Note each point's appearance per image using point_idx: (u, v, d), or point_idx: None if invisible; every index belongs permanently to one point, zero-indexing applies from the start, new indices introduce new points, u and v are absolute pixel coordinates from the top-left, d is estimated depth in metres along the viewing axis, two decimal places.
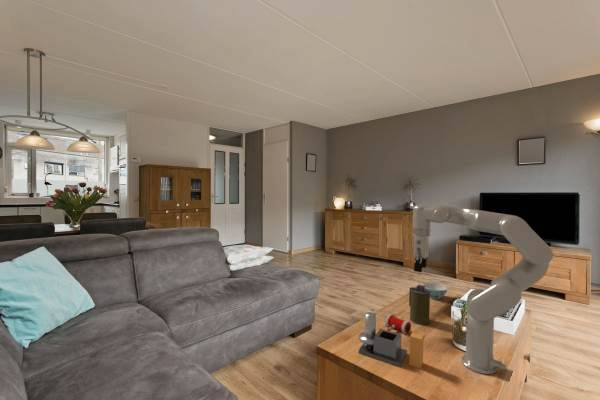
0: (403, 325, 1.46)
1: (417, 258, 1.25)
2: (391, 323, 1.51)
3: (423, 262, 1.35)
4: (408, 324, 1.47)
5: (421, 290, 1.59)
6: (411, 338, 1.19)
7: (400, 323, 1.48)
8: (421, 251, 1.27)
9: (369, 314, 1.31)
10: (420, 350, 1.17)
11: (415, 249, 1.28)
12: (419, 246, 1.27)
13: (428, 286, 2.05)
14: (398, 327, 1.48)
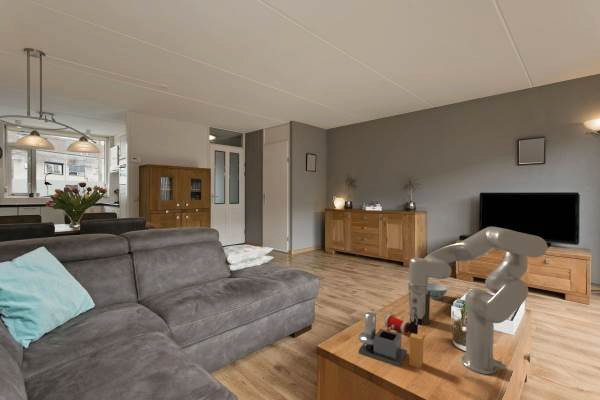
0: (402, 325, 1.45)
1: (413, 319, 1.13)
2: (390, 323, 1.51)
3: (419, 319, 1.23)
4: (407, 324, 1.46)
5: None
6: (411, 338, 1.19)
7: (399, 323, 1.47)
8: (417, 311, 1.15)
9: (369, 314, 1.31)
10: (420, 350, 1.17)
11: (411, 308, 1.16)
12: (415, 305, 1.15)
13: (428, 286, 2.05)
14: (397, 327, 1.48)
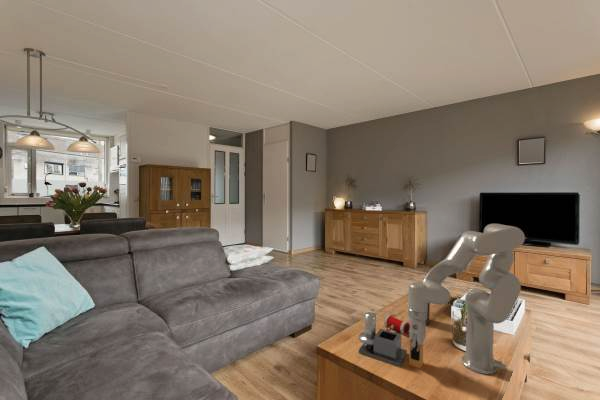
0: (402, 326, 1.45)
1: (414, 348, 1.15)
2: (390, 324, 1.51)
3: None
4: (407, 325, 1.46)
5: None
6: None
7: (398, 323, 1.47)
8: (417, 341, 1.15)
9: (369, 314, 1.31)
10: (420, 350, 1.17)
11: (411, 334, 1.17)
12: (415, 331, 1.16)
13: None
14: (397, 328, 1.47)
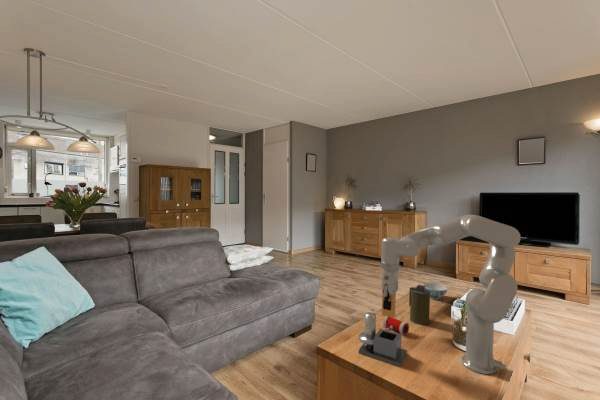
0: (401, 326, 1.44)
1: (385, 297, 1.21)
2: (389, 324, 1.50)
3: None
4: (406, 325, 1.45)
5: (421, 290, 1.59)
6: None
7: (398, 324, 1.47)
8: (389, 290, 1.21)
9: (369, 314, 1.31)
10: (392, 300, 1.23)
11: (383, 285, 1.23)
12: (387, 282, 1.22)
13: (428, 286, 2.05)
14: (396, 328, 1.47)
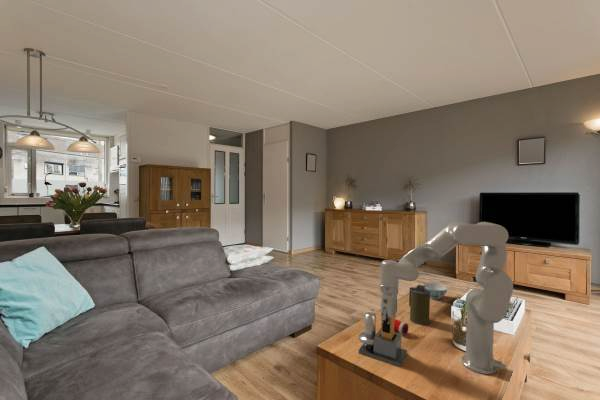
0: (400, 326, 1.44)
1: (384, 321, 1.21)
2: None
3: None
4: (405, 325, 1.45)
5: (421, 290, 1.59)
6: None
7: (397, 324, 1.46)
8: (388, 314, 1.21)
9: (369, 314, 1.31)
10: (390, 323, 1.24)
11: (382, 308, 1.23)
12: (386, 305, 1.22)
13: (428, 286, 2.05)
14: (395, 328, 1.46)
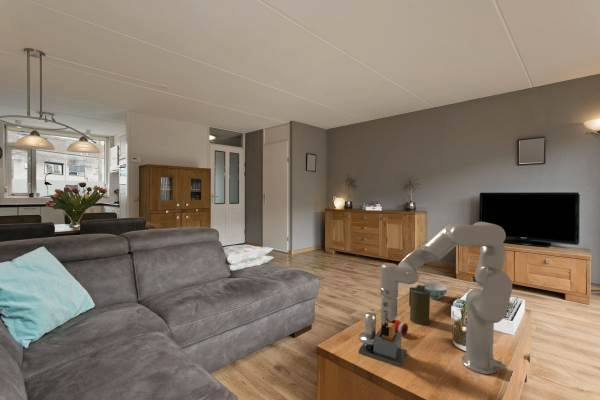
0: (400, 327, 1.44)
1: (383, 323, 1.20)
2: None
3: (392, 322, 1.30)
4: (405, 326, 1.45)
5: (421, 290, 1.59)
6: None
7: (396, 324, 1.46)
8: (388, 315, 1.21)
9: (369, 314, 1.31)
10: (391, 338, 1.24)
11: (382, 311, 1.23)
12: (386, 309, 1.22)
13: (428, 286, 2.05)
14: (395, 329, 1.46)
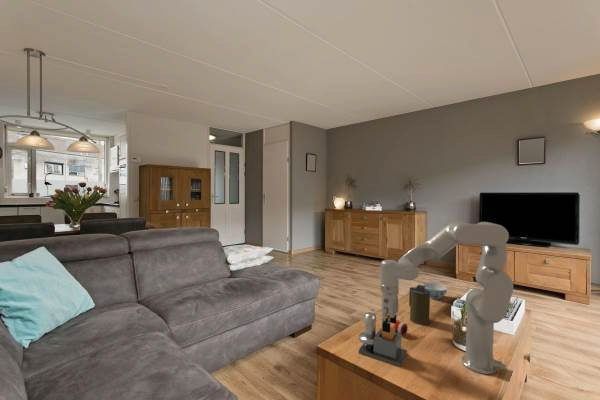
0: (399, 327, 1.44)
1: (384, 319, 1.20)
2: None
3: (393, 318, 1.30)
4: (404, 326, 1.45)
5: (421, 290, 1.59)
6: None
7: (396, 324, 1.46)
8: (389, 310, 1.21)
9: (369, 314, 1.31)
10: (391, 338, 1.24)
11: (383, 308, 1.23)
12: (387, 305, 1.22)
13: (428, 286, 2.05)
14: None
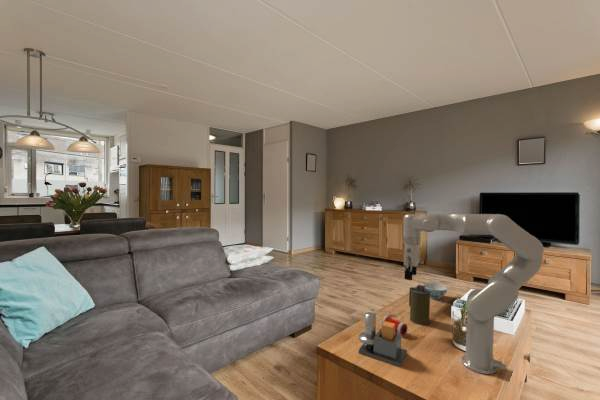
0: (399, 327, 1.44)
1: (407, 266, 1.28)
2: None
3: (414, 270, 1.38)
4: (404, 326, 1.44)
5: (421, 290, 1.59)
6: (383, 326, 1.26)
7: (396, 324, 1.46)
8: (411, 259, 1.29)
9: (369, 314, 1.31)
10: (391, 338, 1.24)
11: (405, 257, 1.31)
12: (409, 254, 1.30)
13: (428, 286, 2.05)
14: None
